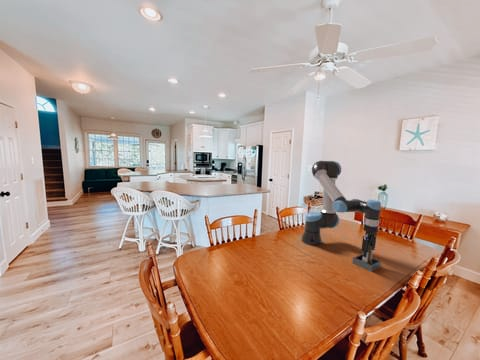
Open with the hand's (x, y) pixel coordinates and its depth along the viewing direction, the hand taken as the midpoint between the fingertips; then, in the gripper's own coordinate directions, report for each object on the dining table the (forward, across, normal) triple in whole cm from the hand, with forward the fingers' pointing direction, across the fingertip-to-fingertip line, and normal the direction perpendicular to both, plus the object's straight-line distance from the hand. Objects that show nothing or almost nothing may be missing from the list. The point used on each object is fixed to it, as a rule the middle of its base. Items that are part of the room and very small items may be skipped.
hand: (366, 260), depth 128 cm
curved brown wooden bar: (+2, 0, 0) cm, 2 cm away
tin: (+3, 0, 0) cm, 3 cm away
